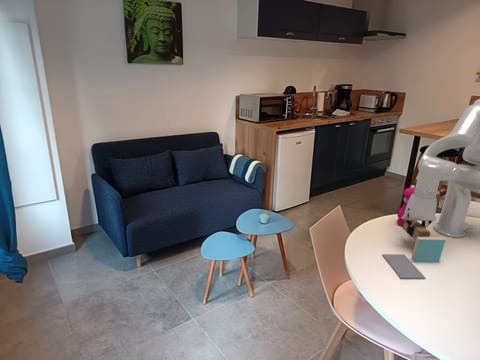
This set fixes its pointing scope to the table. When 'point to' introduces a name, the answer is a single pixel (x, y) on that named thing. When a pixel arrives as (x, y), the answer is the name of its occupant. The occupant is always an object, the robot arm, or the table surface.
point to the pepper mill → (405, 204)
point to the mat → (403, 266)
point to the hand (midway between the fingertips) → (415, 233)
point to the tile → (428, 249)
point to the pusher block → (417, 230)
